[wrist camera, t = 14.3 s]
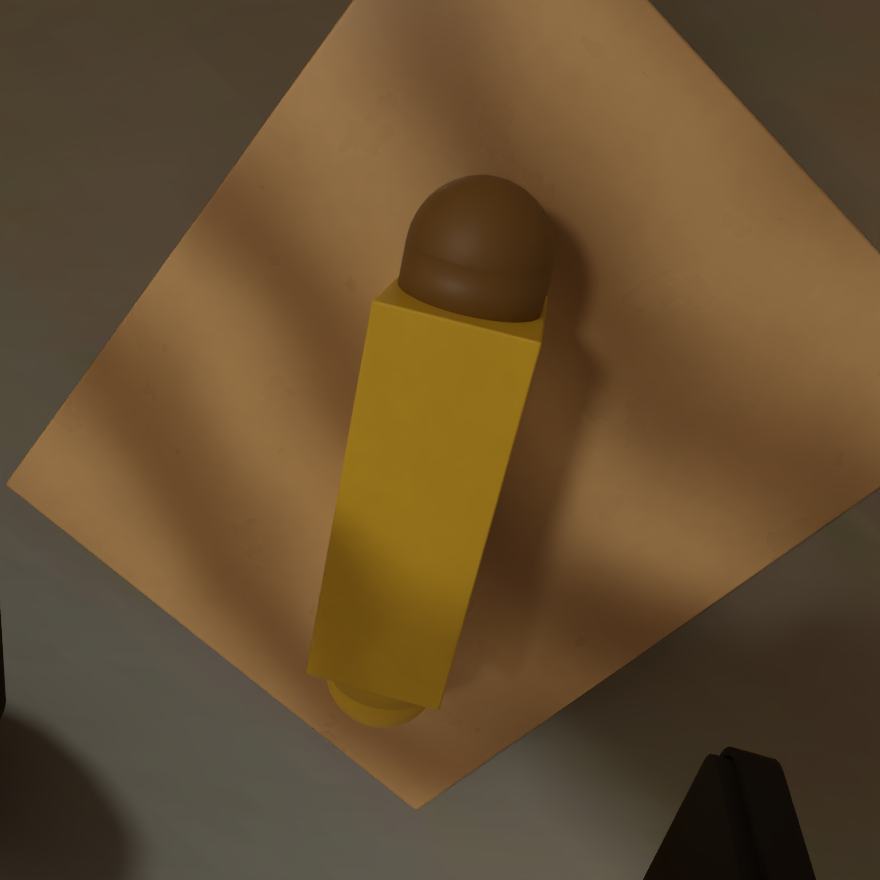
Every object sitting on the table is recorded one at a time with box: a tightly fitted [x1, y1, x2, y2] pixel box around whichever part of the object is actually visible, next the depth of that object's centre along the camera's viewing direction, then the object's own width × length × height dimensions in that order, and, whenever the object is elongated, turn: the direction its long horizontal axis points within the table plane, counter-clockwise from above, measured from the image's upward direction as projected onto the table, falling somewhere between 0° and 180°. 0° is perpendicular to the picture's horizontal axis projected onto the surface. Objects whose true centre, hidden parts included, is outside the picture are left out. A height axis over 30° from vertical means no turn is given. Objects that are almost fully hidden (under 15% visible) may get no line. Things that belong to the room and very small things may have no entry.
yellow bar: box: [306, 174, 555, 728], centre depth 18 cm, size 14×3×4 cm, turn 168°
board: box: [7, 0, 880, 810], centre depth 20 cm, size 20×16×2 cm
